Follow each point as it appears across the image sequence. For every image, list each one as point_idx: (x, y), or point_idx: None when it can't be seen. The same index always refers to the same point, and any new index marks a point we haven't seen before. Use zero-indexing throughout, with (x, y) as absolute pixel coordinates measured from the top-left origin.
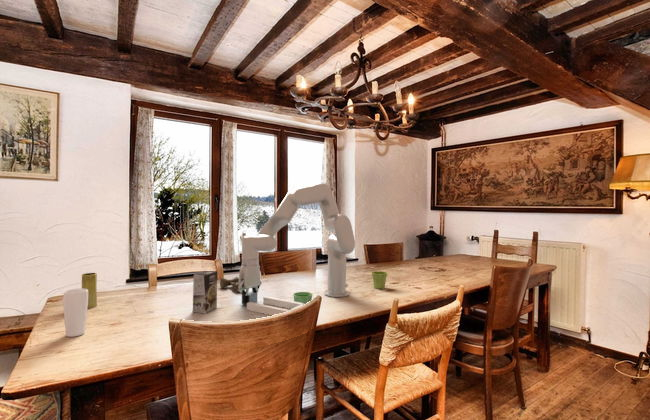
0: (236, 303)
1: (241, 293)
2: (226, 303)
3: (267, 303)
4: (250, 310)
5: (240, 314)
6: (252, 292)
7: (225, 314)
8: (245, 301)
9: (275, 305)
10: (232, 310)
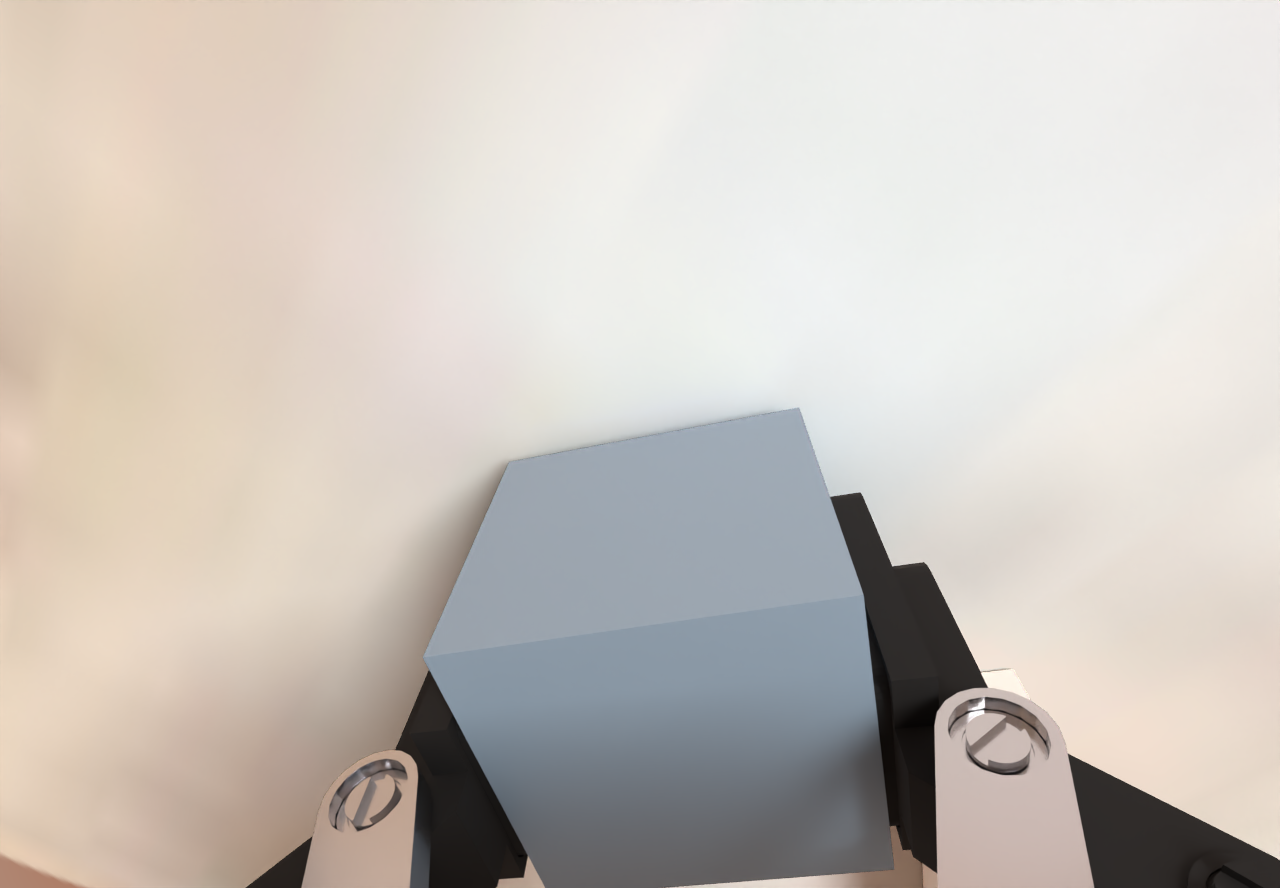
0: (464, 257)
1: (280, 867)
2: (195, 17)
3: None
4: None
5: (250, 810)
6: (846, 749)
7: (16, 689)
8: None
9: (925, 880)
10: (186, 613)
